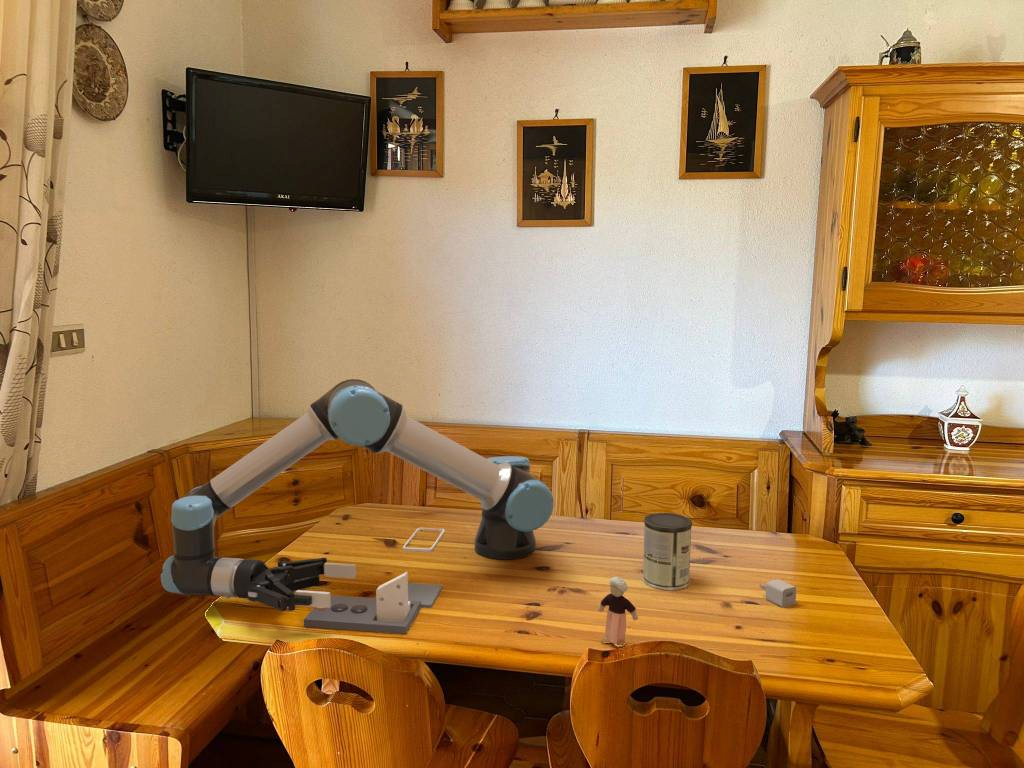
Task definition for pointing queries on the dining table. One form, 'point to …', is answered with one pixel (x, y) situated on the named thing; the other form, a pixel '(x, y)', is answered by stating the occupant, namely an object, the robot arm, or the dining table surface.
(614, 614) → the grandmother figurine
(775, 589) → the usb wall charger
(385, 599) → the white wedge bracket
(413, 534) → the phone case
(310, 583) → the multiport hub
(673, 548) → the coffee can
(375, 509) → the dining table surface
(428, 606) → the rubber mat
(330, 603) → the robot arm
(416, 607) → the grey control panel
